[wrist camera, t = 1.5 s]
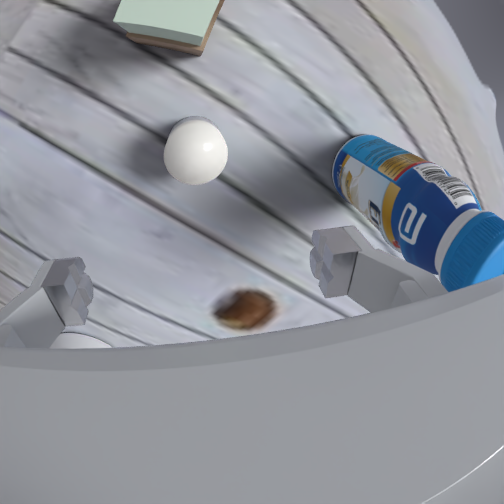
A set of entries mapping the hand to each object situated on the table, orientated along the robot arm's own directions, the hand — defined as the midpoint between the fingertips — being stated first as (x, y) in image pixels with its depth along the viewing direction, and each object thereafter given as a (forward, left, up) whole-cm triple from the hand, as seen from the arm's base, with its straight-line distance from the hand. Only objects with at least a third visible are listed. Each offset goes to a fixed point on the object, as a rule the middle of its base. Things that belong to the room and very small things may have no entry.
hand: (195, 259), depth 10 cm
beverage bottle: (+3, -18, -20) cm, 27 cm away
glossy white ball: (0, 0, -19) cm, 19 cm away
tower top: (+11, +5, -14) cm, 19 cm away
